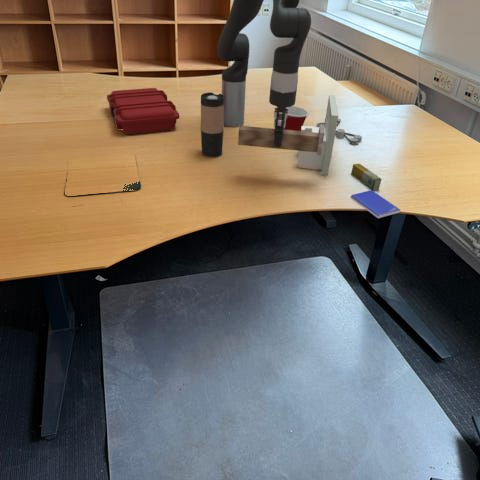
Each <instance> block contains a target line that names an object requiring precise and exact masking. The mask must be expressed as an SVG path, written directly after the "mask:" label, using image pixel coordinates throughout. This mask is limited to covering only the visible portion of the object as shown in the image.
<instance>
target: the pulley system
mask: <svg viewBox="0 0 480 480" xmlns="http://www.w3.org/2000/svg"><path fill="white" fill-rule="evenodd" d="M340 122H341V123H342V121H341V118H338V121H337V127H338V126H339V125H340V124H341V123H340ZM320 124H325V122H317V123H316V124H315V127H320ZM348 136H349V137H348ZM336 137H337V138H336ZM335 138H336V139H343V138H345V139H346V140H347V142H349V143H350V144H352V145H355V144H358V143H360V142H361V141H362V140H363V136H362V135H360V134H354V133H349V132H345V129H343V128H338V129H336V132H335Z"/></svg>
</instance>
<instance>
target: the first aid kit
mask: <svg viewBox="0 0 480 480" xmlns="http://www.w3.org/2000/svg"><path fill="white" fill-rule="evenodd" d="M106 100H107V102H108V105H109V106H108V107H109V111H110V112H109V113H110V115H111V117H112V118H113V119H114V124H115V126H116V125H117V126H116V129H117V130H118V129H123V130H122V131H123V133H124V134H126V135H128V134H131V135H139V134H138V133H141V134H149V133H148V132H150V133H157V131H159V132H167V131H168V130H169V131H173V130H175V129H176V124H177V120H179V119H180V113H179V112H178V110H177V108H176V105H175V104H174V103H173V102H172V100H168V95H167V94H166V93H165V91H164V90H161V89H158V88H157V87H147V88H145V87H144V88H134V89H122V90H120V89H118V90H112V91H111V93H110V94H107V95H106ZM169 131H168V132H169Z"/></svg>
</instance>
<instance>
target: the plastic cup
mask: <svg viewBox="0 0 480 480" xmlns="http://www.w3.org/2000/svg"><path fill="white" fill-rule="evenodd" d="M286 109H288V115H287V118H286V125H285V128H284V129H283V130H293V131H301V126H304V123H305V121H306V119H307V117H308V116H309V115H310V112H309V111H308V110H307V109H305V108H303V107H300V106H297V105H296V106H295V105H293V106H291V107H286Z"/></svg>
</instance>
